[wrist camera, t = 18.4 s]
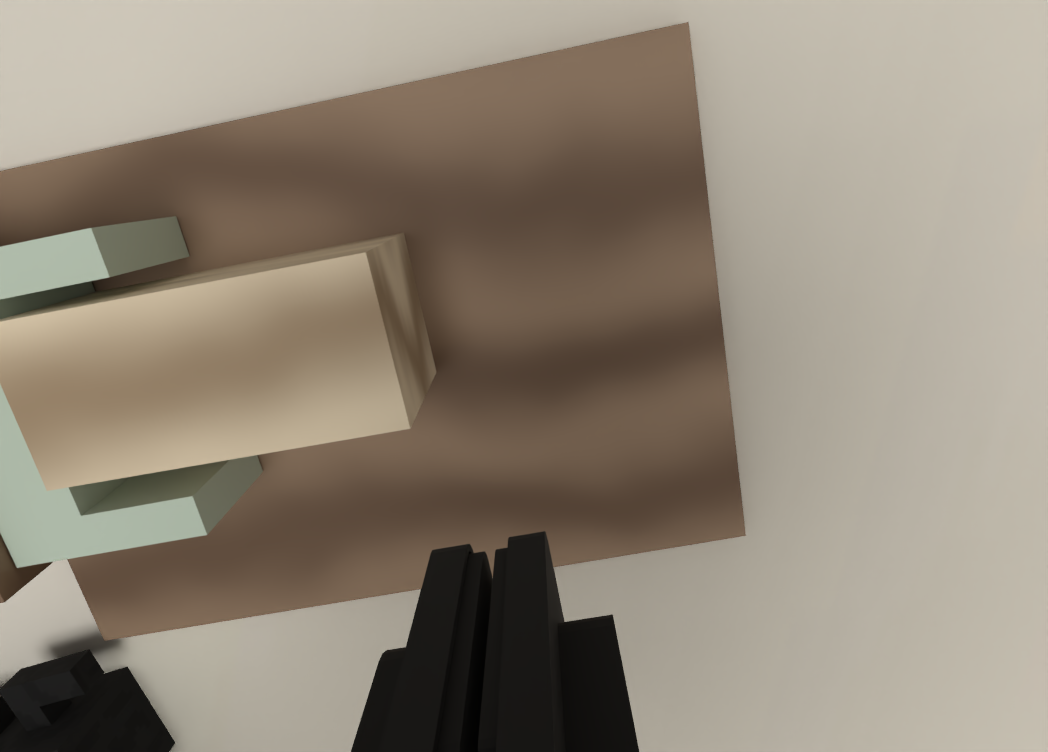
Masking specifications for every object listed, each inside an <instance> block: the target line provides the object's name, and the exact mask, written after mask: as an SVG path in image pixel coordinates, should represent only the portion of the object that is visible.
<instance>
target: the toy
mask: <svg viewBox="0 0 1048 752" xmlns="http://www.w3.org/2000/svg"><path fill="white" fill-rule="evenodd" d="M103 673H104V671H103V670H102V668H101V667H100V665H99V664H98V662H97V661H96V659H95V657H94V656H93V654H92V653H91V651H90V650H87V651H83V652H79V653H76V654H72V655H69V656H65V657H62V658H58V659H55V660H51V661H48V662H44V663H40V664H37V665H33V666H30V667H26V668H23V669H20V670H19V671H18V672H17V673H16V674H15V675H14V676H13V677H12V678H11V679H10V680H9V681H8V682H7V683H6V684H5V685H4V686H3V687H2V688H0V694H1V695H2V697H0V752H169V751H170V750H171V748H172V747H173V745H174V743H175V742H174V740H173V739H172V737H171V735H170V734H169V732H168V731H167V729H166V727H165V726H164V724H163V723H162V721H161V719H160V718H159V716H158V715H157V713H156V712H155V710H154V708H153V707H152V705H151V704H150V702H149V700H148V699H147V697H146V696H145V694H144V692H143V691H142V689H141V688H140V686H139V684H138V683H137V681H136V680H135V678H134V677H133V675H132V673H131V672H130V670H129V669H128V667H125V668H122V669H119V670H115V671H112V672H109V673H105V674H103ZM3 698H4V699H3ZM5 701H6V702H7V703H6V702H5ZM8 705H9V706H8ZM10 708H11V709H10Z"/></svg>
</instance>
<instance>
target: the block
mask: <svg viewBox="0 0 1048 752" xmlns="http://www.w3.org/2000/svg"><path fill="white" fill-rule="evenodd" d="M186 257H189V253H188V250H187V247H186V244H185V241H184V238H183V235H182V232H181V229H180V226H179V223H178V220H177V217H176V216H173V217H166V218H159V219H152V220H144V221H137V222H130V223H122V224H115V225H108V226H101V227H93V228H88V229H83V230H78V231H73V232H69V233H64V234H59V235H54V236H49V237H45V238H40V239H35V240H30V241H25V242H21V243H16V244H11V245H6V246H1V247H0V319H3V318H6V317H10V316H13V315H17V314H20V313H24V312H27V311H31V310H34V309H38V308H41V307H45V306H48V305H52V304H55V303H59V302H62V301H66V300H69V299H73V298H76V297H80V296H83V295H87V294H90V293H94V292H95V289H94V287H93V284H92V282H91V281H94V280H99V279H104V278H109V277H113V276H117V275H120V274H124V273H128V272H132V271H136V270H140V269H143V268H147V267H151V266H155V265H159V264H163V263H166V262H170V261H174V260H178V259H182V258H186ZM262 472H263V470H262V467H261V465H260V462H259V459H258V456H257V455H254V456H249V457H243V458H237V459H231V460H225V461H219V462H214V463H208V464H202V465H196V466H190V467H184V468H178V469H173V470H167V471H161V472H155V473H149V474H143V475H138V476H132V477H126V478H120V479H114V480H108V481H103V482H97V483H91V484H85V485H79V486H73V487H68V488H62V489H56V490H50V491H47V490H46V488H45V485H44V483H43V481H42V478H41V476H40V474H39V472H38V469H37V467H36V465H35V462H34V460H33V458H32V456H31V453H30V451H29V449H28V446H27V444H26V442H25V440H24V437H23V435H22V433H21V430H20V428H19V426H18V424H17V421H16V419H15V417H14V414H13V412H12V410H11V408H10V405H9V403H8V401H7V398H6V396H5V394H4V392H3V389H2V387H1V385H0V534H1V536H2V538H3V540H4V542H5V544H6V546H7V548H8V550H9V552H10V554H11V557H12V559H13V561H14V563H15V565H16V567H17V568H19V567H25V566H31V565H37V564H42V563H48V562H54V561H60V560H65V559H71V558H77V557H83V556H89V555H94V554H100V553H106V552H112V551H117V550H123V549H129V548H135V547H140V546H146V545H152V544H158V543H164V542H169V541H175V540H181V539H187V538H192V537H198V536H204V535H208V533H209V532H210V531H211V530H212V529H213V528H214V527H215V525H216V524H217V523H218V522H219V521H220V520H221V519H222V518H223V516H224V515H225V514H226V513H227V512H228V511H229V510H230V508H231V507H232V506H233V505H234V504H235V503H236V502H237V501H238V499H239V498H240V497H241V496H242V495H243V494H244V493H245V491H246V490H247V489H248V488H249V487H250V486H251V485H252V484H253V482H254V481H255V480H256V479H257V478H258V477H259V476H260V474H261V473H262Z"/></svg>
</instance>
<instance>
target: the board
mask: <svg viewBox="0 0 1048 752" xmlns="http://www.w3.org/2000/svg"><path fill="white" fill-rule="evenodd" d="M173 216H176V217H177V220H178V223H179V226H180V229H181V232H182V235H183V238H184V241H185V244H186V247H187V250H188V253H189V257H186V258H182V259H178V260H174V261H170V262H166V263H163V264H159V265H155V266H151V267H147V268H143V269H140V270H136V271H132V272H128V273H124V274H120V275H117V276H113V277H109V278H104V279H99V280H94V281H91V282H92V284H93V287H94V289H95V292H97V291H101V290H107V289H112V288H117V287H122V286H128V285H133V284H138V283H143V282H149V281H154V280H159V279H164V278H170V277H175V276H180V275H185V274H191V273H196V272H201V271H206V270H212V269H217V268H222V267H227V266H232V265H238V264H243V263H248V262H253V261H259V260H264V259H269V258H274V257H280V256H285V255H290V254H295V253H301V252H306V251H311V250H316V249H322V248H327V247H332V246H337V245H343V244H348V243H353V242H358V241H363V240H369V239H374V238H379V237H384V236H390V235H395V234H400V233H404V236H405V240H406V244H407V248H408V253H409V257H410V261H411V266H412V270H413V274H414V278H415V283H416V287H417V291H418V295H419V300H420V304H421V308H422V312H423V317H424V321H425V325H426V329H427V334H428V338H429V342H430V346H431V351H432V355H433V359H434V364H435V368H436V375H435V377H434V379H433V381H432V383H431V385H430V387H429V390H428V392H427V394H426V396H425V398H424V400H423V403H422V405H421V407H420V409H419V411H418V413H417V415H416V418H415V420H414V422H413V424H412V426H411V428H410V429H406V430H400V431H394V432H389V433H383V434H377V435H371V436H365V437H359V438H354V439H348V440H342V441H336V442H330V443H324V444H319V445H313V446H307V447H301V448H295V449H289V450H284V451H278V452H272V453H266V454H260V455H257V456H258V459H259V462H260V465H261V467H262V470H263V472H262V473H261V474H260V476H259V477H258V478H257V479H256V480H255V481H254V482H253V484H252V485H251V486H250V487H249V488H248V489H247V490H246V491H245V493H244V494H243V495H242V496H241V497H240V498H239V499H238V501H237V502H236V503H235V504H234V505H233V506H232V507H231V508H230V510H229V511H228V512H227V513H226V514H225V515H224V516H223V518H222V519H221V520H220V521H219V522H218V523H217V524H216V525H215V527H214V528H213V529H212V530H211V531H210V532H209V533H208V535H204V536H198V537H192V538H187V539H181V540H175V541H169V542H164V543H158V544H152V545H146V546H140V547H135V548H129V549H123V550H117V551H112V552H106V553H100V554H94V555H89V556H83V557H77V558H71V559H67V560H68V562H69V564H70V566H71V568H72V571H73V573H74V575H75V577H76V579H77V582H78V584H79V586H80V588H81V590H82V593H83V595H84V597H85V599H86V601H87V604H88V606H89V608H90V610H91V613H92V615H93V617H94V619H95V621H96V624H97V626H98V628H99V630H100V632H101V635H102V637H103V639H104V641H106V640H112V639H118V638H124V637H130V636H137V635H143V634H149V633H155V632H161V631H167V630H173V629H179V628H185V627H191V626H198V625H204V624H210V623H216V622H222V621H228V620H234V619H240V618H246V617H252V616H258V615H265V614H271V613H277V612H283V611H289V610H295V609H301V608H307V607H313V606H319V605H326V604H332V603H338V602H344V601H350V600H356V599H362V598H368V597H374V596H380V595H387V594H393V593H399V592H405V591H411V590H417V589H421V588H422V584H423V581H424V577H425V573H426V569H427V565H428V562H429V558H430V554H431V552H432V550H434V549H440V548H446V547H452V546H459V545H465V544H470V545H471V547H472V549H473V552H474V553H477V552H483V551H485V552H486V554H487V557H488V561H489V565H490V569H491V573H492V577H493V569H494V558H495V550H496V549H501V548H507V547H508V538H509V537H513V536H519V535H525V534H531V533H537V532H543V531H545V532H546V535H547V539H548V543H549V548H550V553H551V558H552V563H553V567H557V566H563V565H569V564H576V563H582V562H588V561H594V560H600V559H606V558H612V557H618V556H624V555H630V554H637V553H643V552H649V551H655V550H661V549H667V548H673V547H679V546H685V545H691V544H698V543H704V542H710V541H716V540H722V539H728V538H734V537H740V536H746V535H745V526H744V517H743V508H742V499H741V490H740V481H739V472H738V463H737V454H736V445H735V436H734V427H733V418H732V409H731V400H730V391H729V382H728V373H727V364H726V355H725V346H724V337H723V328H722V319H721V310H720V301H719V292H718V284H717V275H716V266H715V257H714V248H713V239H712V230H711V221H710V212H709V203H708V194H707V185H706V176H705V167H704V158H703V149H702V140H701V131H700V122H699V113H698V104H697V95H696V86H695V77H694V68H693V59H692V50H691V41H690V33H689V24H688V22H687V23H683V24H678V25H673V26H669V27H664V28H660V29H655V30H650V31H646V32H641V33H636V34H632V35H627V36H623V37H618V38H613V39H609V40H604V41H600V42H595V43H590V44H586V45H581V46H576V47H572V48H567V49H563V50H558V51H553V52H549V53H544V54H540V55H535V56H530V57H526V58H521V59H516V60H512V61H507V62H503V63H498V64H493V65H489V66H484V67H479V68H475V69H470V70H466V71H461V72H456V73H452V74H447V75H443V76H438V77H433V78H429V79H424V80H419V81H415V82H410V83H406V84H401V85H396V86H392V87H387V88H382V89H378V90H373V91H369V92H364V93H359V94H355V95H350V96H346V97H341V98H336V99H332V100H327V101H322V102H318V103H313V104H309V105H304V106H299V107H295V108H290V109H285V110H281V111H276V112H272V113H267V114H262V115H258V116H253V117H249V118H244V119H239V120H235V121H230V122H225V123H221V124H216V125H212V126H207V127H202V128H198V129H193V130H188V131H184V132H179V133H175V134H170V135H165V136H161V137H156V138H152V139H147V140H142V141H138V142H133V143H128V144H124V145H119V146H115V147H110V148H105V149H101V150H96V151H91V152H87V153H82V154H78V155H73V156H68V157H64V158H59V159H55V160H50V161H45V162H41V163H36V164H31V165H27V166H22V167H18V168H13V169H8V170H4V171H0V247H1V246H6V245H11V244H16V243H21V242H25V241H30V240H35V239H40V238H45V237H49V236H54V235H59V234H64V233H69V232H73V231H78V230H83V229H88V228H93V227H101V226H108V225H115V224H122V223H130V222H137V221H144V220H152V219H159V218H166V217H173ZM51 563H53V562H48V563H42V564H37V565H31V566H25V567H19V568H17V567H16V565H15V563H14V561H13V559H12V557H11V554H10V552H9V550H8V548H7V546H6V544H5V542H4V540H3V538H2V536H1V534H0V603H3V602H5V601H7V600H8V599H9V598H10V597H11V596H13V595H14V594H15V593H16V592H17V591H19V590H20V589H21V588H22V587H24V586H25V585H26V584H27V583H28V582H30V581H31V580H32V579H33V578H34V577H36V576H37V575H38V574H39V573H40V572H42V571H43V570H44V569H45V568H47V567H48V566H49V565H50V564H51Z"/></svg>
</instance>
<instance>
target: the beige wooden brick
mask: <svg viewBox="0 0 1048 752" xmlns="http://www.w3.org/2000/svg"><path fill="white" fill-rule="evenodd" d="M435 375H436V368H435V364H434V359H433V355H432V351H431V346H430V342H429V338H428V334H427V329H426V325H425V321H424V317H423V312H422V308H421V304H420V300H419V295H418V291H417V287H416V283H415V278H414V274H413V270H412V266H411V261H410V257H409V253H408V248H407V244H406V240H405V236H404V233H400V234H395V235H390V236H384V237H379V238H374V239H369V240H363V241H358V242H353V243H348V244H343V245H337V246H332V247H327V248H322V249H316V250H311V251H306V252H301V253H295V254H290V255H285V256H280V257H274V258H269V259H264V260H259V261H253V262H248V263H243V264H238V265H232V266H227V267H222V268H217V269H212V270H206V271H201V272H196V273H191V274H185V275H180V276H175V277H170V278H164V279H159V280H154V281H149V282H143V283H138V284H133V285H128V286H122V287H117V288H112V289H107V290H101V291H97V292H94V293H90V294H87V295H83V296H80V297H76V298H73V299H69V300H66V301H62V302H59V303H55V304H52V305H48V306H45V307H41V308H38V309H34V310H31V311H27V312H24V313H20V314H17V315H13V316H10V317H6V318H3V319H0V385H1V387H2V389H3V392H4V394H5V396H6V398H7V401H8V403H9V405H10V408H11V410H12V412H13V414H14V417H15V419H16V421H17V424H18V426H19V428H20V430H21V433H22V435H23V437H24V440H25V442H26V444H27V446H28V449H29V451H30V453H31V456H32V458H33V460H34V462H35V465H36V467H37V469H38V472H39V474H40V476H41V478H42V481H43V483H44V485H45V488H46V490H47V491H50V490H56V489H62V488H68V487H73V486H79V485H85V484H91V483H97V482H103V481H108V480H114V479H120V478H126V477H132V476H138V475H143V474H149V473H155V472H161V471H167V470H173V469H178V468H184V467H190V466H196V465H202V464H208V463H214V462H219V461H225V460H231V459H237V458H243V457H249V456H254V455H260V454H266V453H272V452H278V451H284V450H289V449H295V448H301V447H307V446H313V445H319V444H324V443H330V442H336V441H342V440H348V439H354V438H359V437H365V436H371V435H377V434H383V433H389V432H394V431H400V430H406V429H410V428H411V426H412V424H413V422H414V420H415V418H416V415H417V413H418V411H419V409H420V407H421V405H422V403H423V400H424V398H425V396H426V394H427V392H428V390H429V387H430V385H431V383H432V381H433V379H434V377H435Z"/></svg>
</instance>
